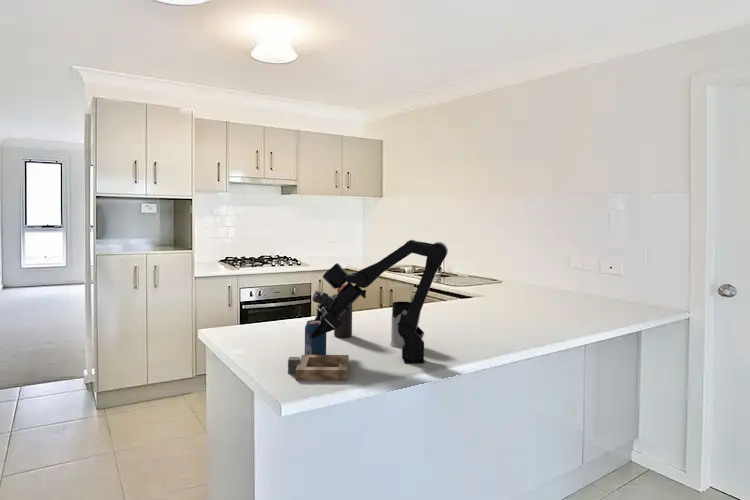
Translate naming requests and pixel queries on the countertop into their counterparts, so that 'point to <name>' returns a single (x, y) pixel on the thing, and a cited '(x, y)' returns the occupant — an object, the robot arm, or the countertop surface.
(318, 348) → the soda can
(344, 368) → the wooden square frame
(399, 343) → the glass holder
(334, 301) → the robot arm
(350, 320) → the bottle
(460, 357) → the countertop surface
